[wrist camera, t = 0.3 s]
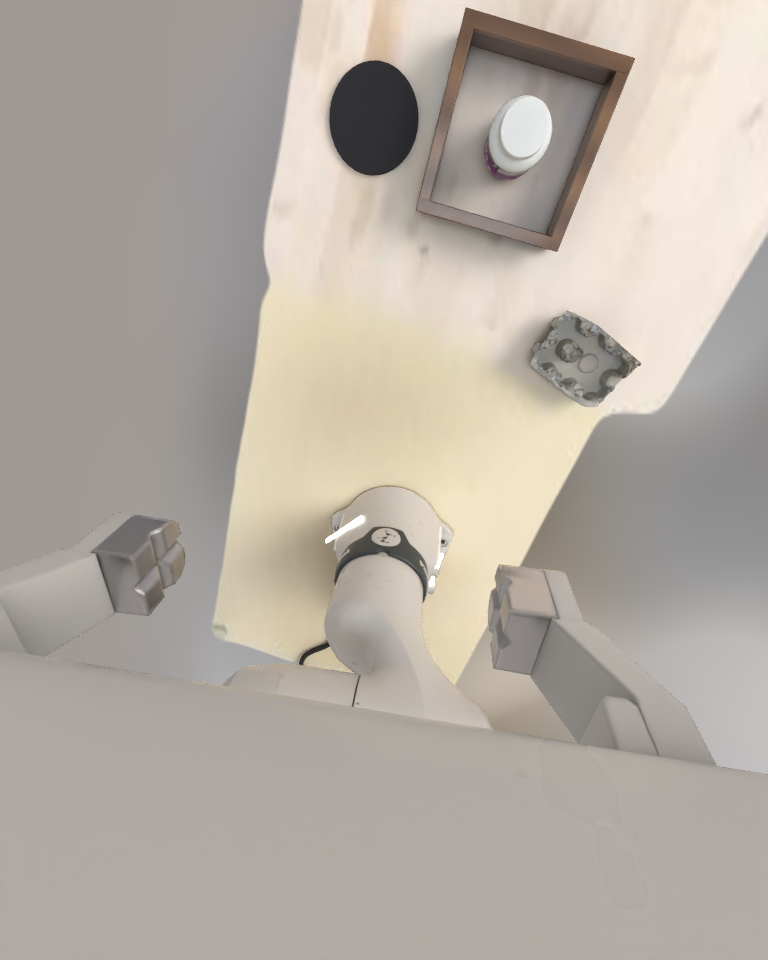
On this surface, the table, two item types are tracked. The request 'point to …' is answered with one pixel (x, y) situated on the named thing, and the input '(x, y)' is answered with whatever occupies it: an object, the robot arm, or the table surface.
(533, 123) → the pill bottle
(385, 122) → the coaster
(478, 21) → the wooden square frame
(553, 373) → the egg carton
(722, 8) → the table surface
